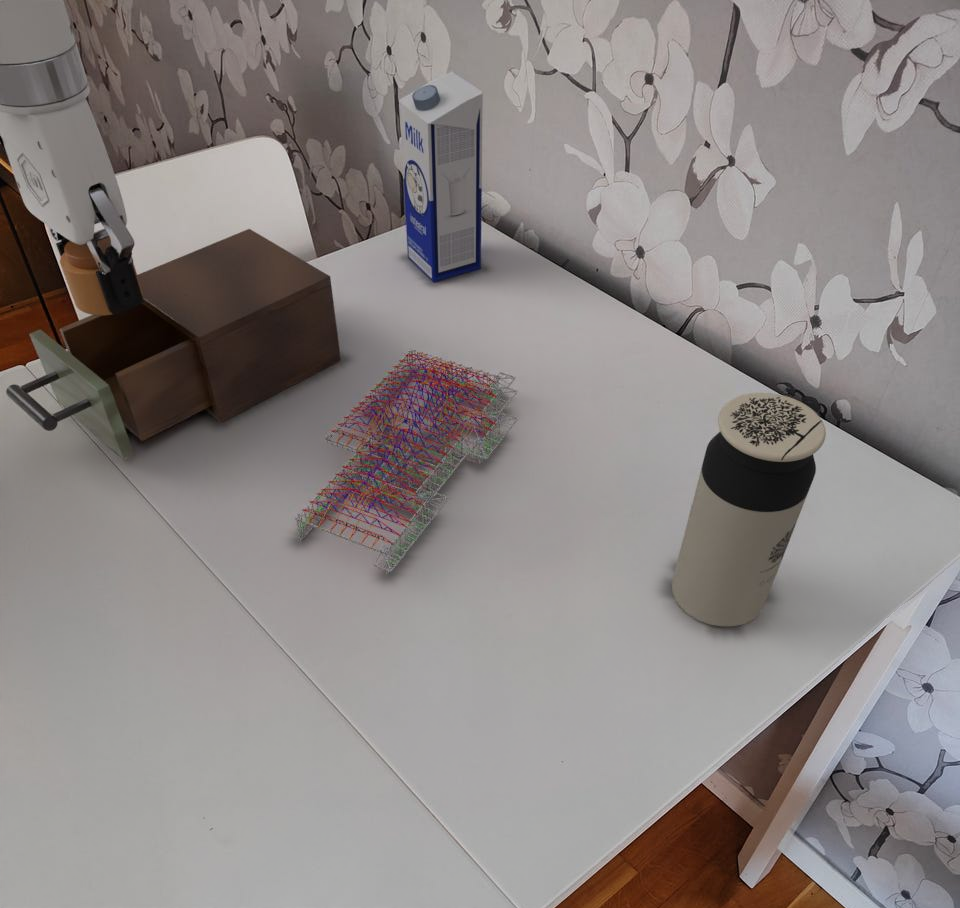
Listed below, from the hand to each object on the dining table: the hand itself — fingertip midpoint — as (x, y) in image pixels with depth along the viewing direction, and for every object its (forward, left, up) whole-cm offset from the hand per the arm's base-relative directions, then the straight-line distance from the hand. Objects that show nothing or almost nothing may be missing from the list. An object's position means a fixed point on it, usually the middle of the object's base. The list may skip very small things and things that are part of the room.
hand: (106, 292), depth 82 cm
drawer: (0, -1, -12) cm, 12 cm away
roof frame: (+27, +9, -13) cm, 32 cm away
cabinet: (+2, +12, -13) cm, 18 cm away
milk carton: (+7, +42, -13) cm, 45 cm away
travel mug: (+59, +11, -13) cm, 62 cm away
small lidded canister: (0, 0, -1) cm, 1 cm away
